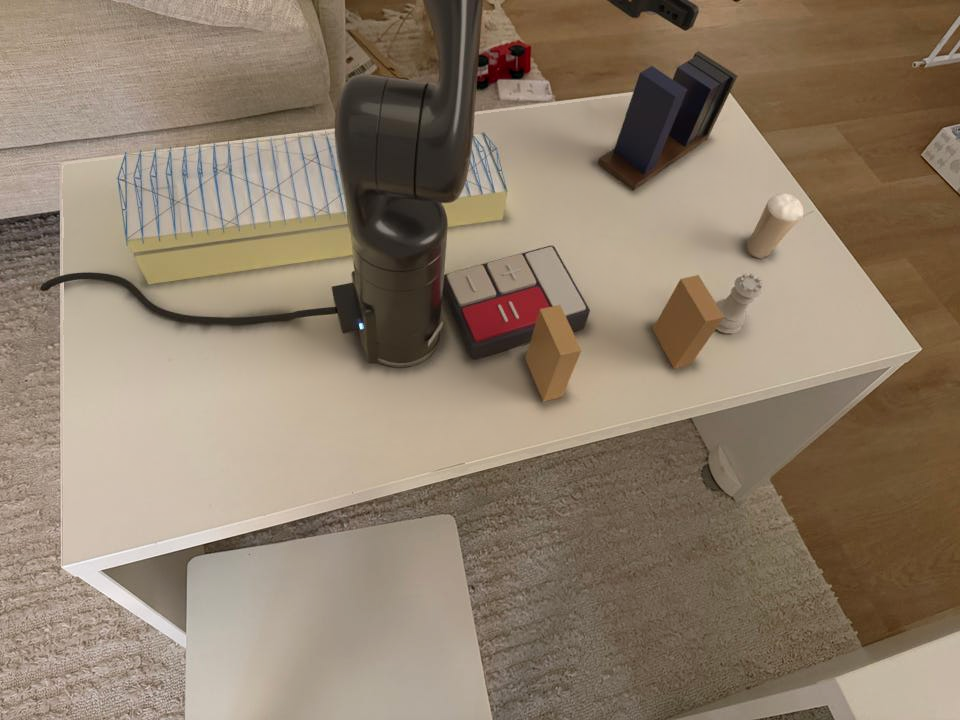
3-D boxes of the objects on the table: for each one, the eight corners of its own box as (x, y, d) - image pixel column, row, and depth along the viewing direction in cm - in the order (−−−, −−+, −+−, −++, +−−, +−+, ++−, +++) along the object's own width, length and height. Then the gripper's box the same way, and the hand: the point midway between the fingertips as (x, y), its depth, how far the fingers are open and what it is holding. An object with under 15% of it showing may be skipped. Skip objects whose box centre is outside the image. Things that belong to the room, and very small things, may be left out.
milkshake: (765, 271, 89) (802, 219, 81) (734, 246, 91) (767, 193, 83) (784, 256, 91) (823, 204, 83) (754, 232, 93) (789, 178, 85)
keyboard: (148, 288, 79) (116, 227, 70) (145, 198, 86) (116, 133, 77) (508, 235, 88) (520, 177, 80) (479, 159, 96) (486, 97, 87)
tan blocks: (543, 402, 76) (560, 355, 67) (525, 358, 78) (539, 308, 70) (691, 364, 80) (724, 316, 72) (669, 325, 83) (698, 274, 75)
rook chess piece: (745, 317, 85) (775, 277, 78) (734, 341, 83) (764, 303, 76) (713, 301, 86) (739, 261, 79) (701, 324, 84) (727, 285, 77)
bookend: (633, 191, 95) (658, 127, 86) (597, 164, 98) (617, 98, 88) (707, 139, 103) (737, 75, 93) (672, 115, 105) (698, 50, 96)
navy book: (644, 174, 96) (675, 96, 85) (613, 151, 97) (639, 72, 86) (655, 166, 97) (687, 89, 86) (624, 144, 99) (652, 65, 88)
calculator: (440, 270, 79) (554, 239, 83) (440, 292, 83) (549, 261, 86) (473, 344, 74) (592, 308, 78) (471, 363, 78) (586, 328, 81)
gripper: (555, -91, 63) (690, -11, 57) (649, -127, 69) (779, -57, 63) (542, -12, 69) (662, 67, 64) (628, -51, 75) (745, 18, 70)
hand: (720, 5), depth 64 cm, fingers open, 8 cm apart
